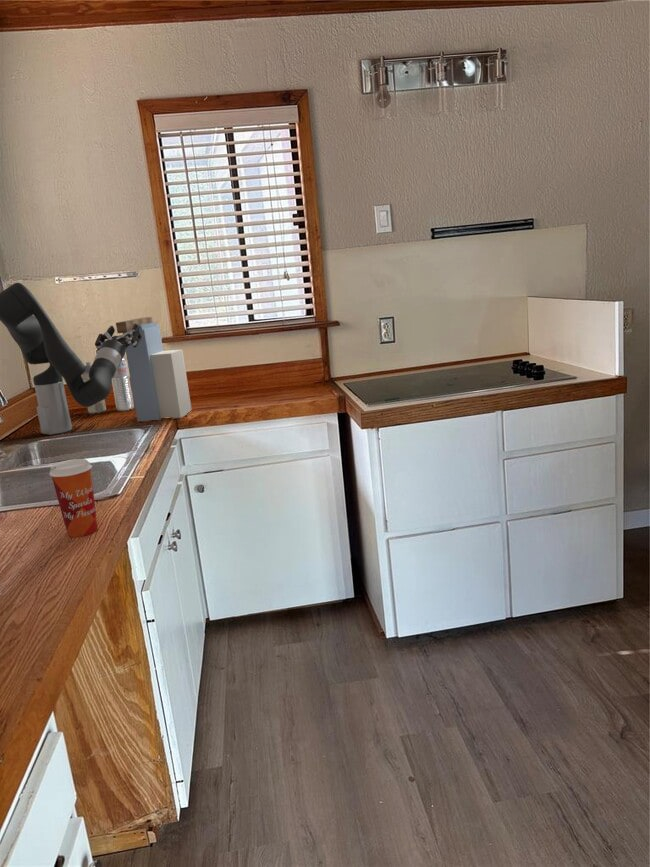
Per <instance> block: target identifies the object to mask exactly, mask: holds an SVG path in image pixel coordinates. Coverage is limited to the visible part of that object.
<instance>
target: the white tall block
mask: <svg viewBox="0 0 650 867" xmlns="http://www.w3.org/2000/svg"><path fill="white" fill-rule="evenodd" d="M184 357H185V356H184V351H183V348H182V349H171V350H163V351H162V352H158V353H155V354H152V355H151V360H152V366H153V373H154V379H155V385H156V391H157V397H158V404H159V410H160V416H161V418H165V417H174V418H173V419H181V418H183V417H185V416H186V415H188V414H189V413H188V412H190V411H191V410H192V409H193V408H192V404H191V403H192V402H191V398H190V391H189V385H188V384H189V383H188V378H187V370H186V363H185V358H184ZM192 411H193V410H192ZM192 411H191V412H192ZM191 412H190V413H191ZM187 413H188V414H187Z"/></svg>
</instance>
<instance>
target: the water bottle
mask: <svg viewBox="0 0 650 867" xmlns="http://www.w3.org/2000/svg"><path fill="white" fill-rule="evenodd" d="M111 387H112V390H113V396H114V402H115V408H116V410H117V411H118V412H125V411H126V410H127V411H130V409H131V410H134V409H135V403H134V397H133V391H132V385H131V380H130V374H129V368H128V362H127V356H126V354H125V355H124V357H123V359H122V361H121V363H120V365H119V367H118V369H117V370H116V372H115V374H114V376H113V378H112V384H111Z"/></svg>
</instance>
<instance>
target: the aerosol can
mask: <svg viewBox="0 0 650 867" xmlns="http://www.w3.org/2000/svg"><path fill="white" fill-rule="evenodd" d="M91 366H92V361H87V362H86V363H85V367H86V369H85V372H84V373H83V374H82V375H81V376H82V379H83V381H84V382H86V381H88V380H90V378H89V370H90V368H91ZM105 399H106V398H105ZM105 399H104V400H102V401H100V402H98V403H96V404H94V405H92V406H90V407H87V412H88V414H89V415H96V414H95V413H98V414H102V413H101V412H103V413H106V412H107V411H106V410H107V406H106V400H105ZM105 411H106V412H105Z"/></svg>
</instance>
